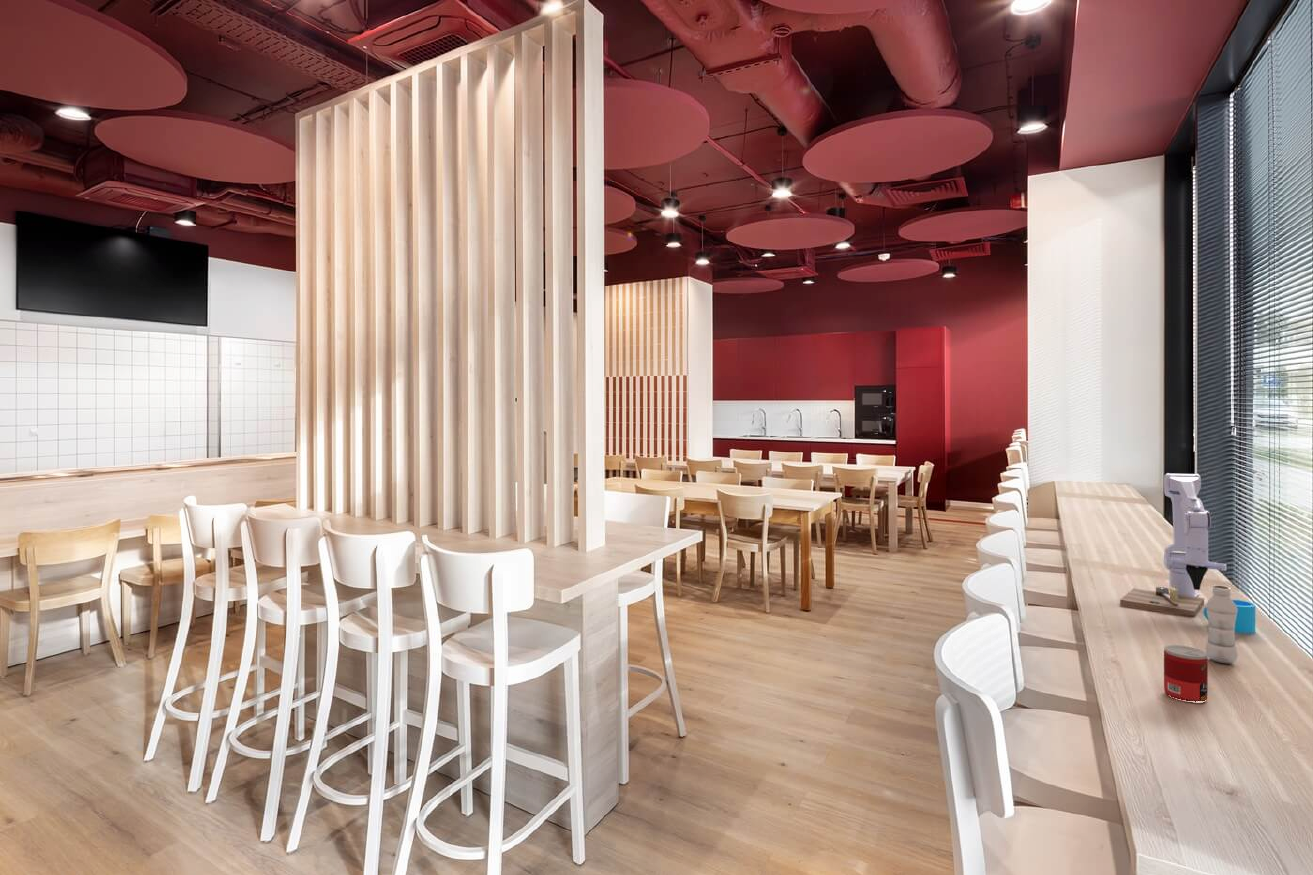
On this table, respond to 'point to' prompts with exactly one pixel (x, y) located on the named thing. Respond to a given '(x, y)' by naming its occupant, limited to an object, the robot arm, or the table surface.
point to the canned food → (1185, 673)
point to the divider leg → (1165, 592)
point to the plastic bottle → (1221, 626)
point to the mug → (1242, 617)
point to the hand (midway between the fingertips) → (1196, 589)
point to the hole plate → (1162, 602)
